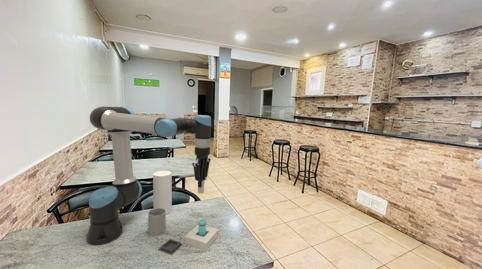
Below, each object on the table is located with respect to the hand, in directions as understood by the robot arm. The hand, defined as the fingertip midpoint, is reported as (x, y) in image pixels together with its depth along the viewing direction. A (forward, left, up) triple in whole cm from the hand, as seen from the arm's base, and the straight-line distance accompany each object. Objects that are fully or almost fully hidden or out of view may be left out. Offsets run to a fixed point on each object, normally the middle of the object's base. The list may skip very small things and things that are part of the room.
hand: (200, 192), depth 102 cm
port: (+3, -3, -23) cm, 24 cm away
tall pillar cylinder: (-35, +11, -23) cm, 43 cm away
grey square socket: (-7, -14, -23) cm, 28 cm away
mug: (-23, -5, -23) cm, 33 cm away
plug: (+3, -3, -23) cm, 24 cm away
